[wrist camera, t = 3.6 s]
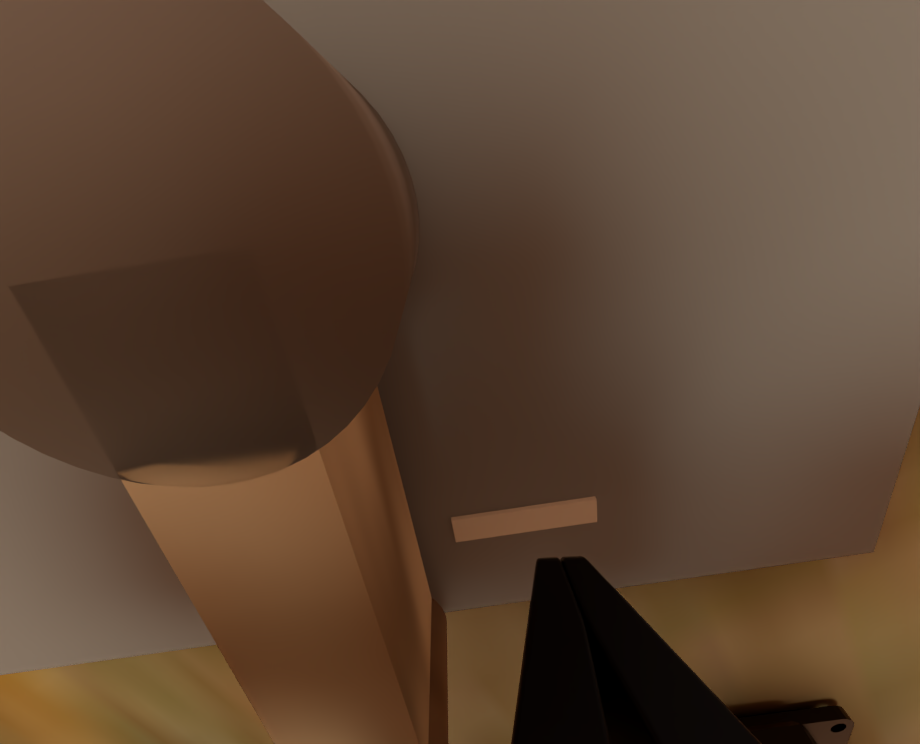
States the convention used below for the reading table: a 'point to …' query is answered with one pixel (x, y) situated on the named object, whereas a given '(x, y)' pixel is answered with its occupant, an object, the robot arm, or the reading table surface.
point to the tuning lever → (224, 336)
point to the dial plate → (589, 307)
